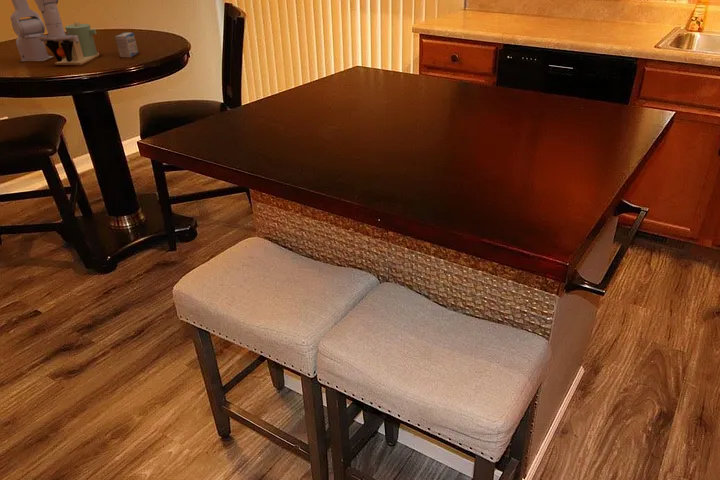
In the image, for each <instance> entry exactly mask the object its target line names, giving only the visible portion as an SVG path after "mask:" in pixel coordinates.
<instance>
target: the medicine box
mask: <svg viewBox="0 0 720 480" xmlns="http://www.w3.org/2000/svg"><path fill="white" fill-rule="evenodd" d="M114 37H115V42H116V46H117V49H118V54H119V57H120V58H133V57H135V56H136V55H137V54H139V50H138V46H137V42H136V38H135V33H134V32H127V31H126V32H122V33H119V34H118V35H115V36H114Z"/></svg>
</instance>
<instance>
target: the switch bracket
mask: <svg viewBox="0 0 720 480" xmlns="http://www.w3.org/2000/svg"><path fill="white" fill-rule="evenodd" d="M75 36H78V35H75ZM60 40H62V39H60ZM62 42H63V41H59V43H62ZM72 48H73V51H74V55H75V57H74V56H73V52H72V61H70V62H68V61H67V59H66V56H64V58H62V61H60V62H58V61H56V62H54V65H55V66H57V65H58V66H59V65H60V66H61V65H66V66H68V65H69V66H70V65H71V66H72V65H74V66H75V65H77V66H78V65H79V66H81V65H84V64H85V63H87V62H89V61H92V60H94V59H95V58H96V57H95V56H87V57H84V56H83V53H82V49H81V46H80V42H79V41H77V42H74V41H73V47H72Z"/></svg>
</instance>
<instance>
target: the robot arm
mask: <svg viewBox="0 0 720 480" xmlns="http://www.w3.org/2000/svg"><path fill="white" fill-rule="evenodd" d="M33 1H34V3H35V4H36V6H37V9H38V11H40V13H41V16H40V14H39V13H38V12H37V11H35V10H33V9H31V8H30V5H29V3H28V0H11V3H12V5H13V8H14V11H13V12H12V14H11V15H10V21H11V27H12V30H13V32H14V33H15V35H16V36H18V37H17V38H16V39H15V45H16V48H17V51H18V55H19V57H20V62H44V61H47V60H49V59H51V58H54V57H55V59H56V60H57V61H56V62H60V61H62V59H63V57H61V56H59V55H58V54H57V49H58V48H59V47H62V48H63V50H64V52H65V55H66V59H67V61H68V62H70V61H72V47H73V41H74V42H77V41H79V39H78V36H75V35H67V33H66V30H65V27H64V25H63V22H62V18H61V14H60V11H59V8H58V4H59V0H33ZM41 17H42V19H43V20H42V19H41ZM45 32H47V34H45ZM60 39H62V40H60ZM60 41H63V42H62V43H61V42H60ZM47 48H48V49H49V50H50V52H51V53H52V54H53V55H49V53H48V50H47Z"/></svg>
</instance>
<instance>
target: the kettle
mask: <svg viewBox="0 0 720 480" xmlns="http://www.w3.org/2000/svg"><path fill="white" fill-rule="evenodd" d="M64 30H65V33H66V35H78V39H79V42H80V46H81V49H82V53H83V56H84V57H87V56H95V58H97V57H99V56H100V53H99V52H98V50H97V47H96V43H95V39H94V36H93V35H97V34H98V31H97V29H96V28H94V29H93V28H91V24H89V23H80V21H76V22H73V23H72V24H68V25H65V26H64ZM72 52H73V56H74V57H75V55H74V51H73V48H72Z"/></svg>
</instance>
